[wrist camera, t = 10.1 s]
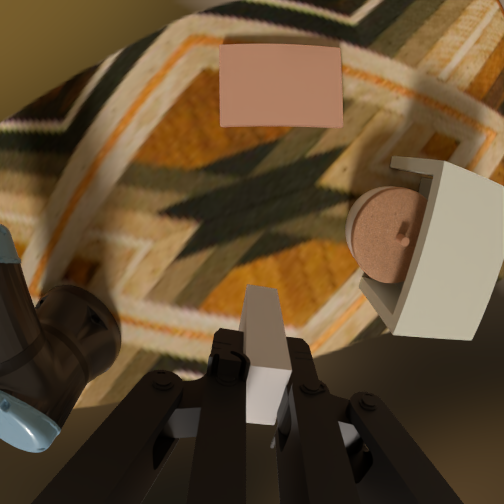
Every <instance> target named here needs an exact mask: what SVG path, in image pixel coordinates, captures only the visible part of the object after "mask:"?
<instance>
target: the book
mask: <svg viewBox="0 0 504 504" xmlns="http://www.w3.org/2000/svg"><path fill="white" fill-rule="evenodd" d="M219 59H220V126H221V127H241V126H297V127H324V128H342V127H343V98H342V72H341V53H340V48H336V47H326V46H313V45H296V44H226V45H219Z"/></svg>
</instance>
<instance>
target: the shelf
mask: <svg viewBox="0 0 504 504" xmlns="http://www.w3.org/2000/svg"><path fill="white" fill-rule="evenodd" d="M390 167H391V168H395V169H398V170H402V171H408V172H414V173H419V174H424V175H429V176H433V179H429V178H424V177H422V178H421V183H420V187H419V192H418V193H420V194H421V195H423V196H424V197H425V198H426V199H427V200H428V202H427V206H426V210H425V214H424V218H423V222H422V225H421V229H420V233H419V236H418V240H417V243H416V247H415V250H414V254H413V257H412V260H411V263H410V267H409V270H408V273H407V276H406V279H405V281H403V282H399V283H383V282H379V281H377V280H375V279H370V278H364V277H362V278H361V282H360V285H359V288H360V290H361V291H362V292H363V294H364V295H365V296H366V298H367V299H368V300H369V302H370V303H371V305H372V306H373V307H374V309H375V310H376V312H377V313H378V314H379V316H380V317H381V319H382V320H383V321H384V323H385V324H386V326H387V327H388V328H389V330H390V331H391V333H392V334H393V335H402V336H414V337H427V338H441V339H457V340H472V338H473V336H474V334H475V332H476V330H477V327H478V325H479V323H480V321H481V318H482V316H483V313H484V311H485V309H486V306H487V304H488V301H489V299H490V296H491V293H492V291H493V288H494V285H495V283H496V280H497V277H498V274H499V271H500V268H501V265H502V262H503V259H504V186H502V185H500V184H498V183H496V182H494V181H491V180H489V179H487V178H485V177H482V176H480V175H478V174H476V173H473V172H471V171H469V170H466V169H464V168H461V167H459V166H456V165H454V164H451V163H449V162H446V161H442V160H433V159H423V158H413V157H401V156H392V160H391V164H390Z"/></svg>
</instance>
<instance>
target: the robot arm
mask: <svg viewBox="0 0 504 504" xmlns="http://www.w3.org/2000/svg"><path fill="white" fill-rule="evenodd" d="M20 263H21V260H20V258H19V257H18V255H17V252H16V249H15V246H14V242H13V239H12V236H11V233H10V231H9V230H8V228H7V227H5V226H4V225H2V224H0V438H1V439H3V440H4V441H5V442H7V443H9V444H11V445H13V446H15V447H17V448H19V449H22V450H25V451H28V452H42V451H44V450H46V449H47V448H48V447H49V446H50V444H51V443H52V442H53V440H54V438H55V437H56V436H57V435H59V433H60V431H61V429H62V427H63V425H64V423H65V421H66V419H67V418H68V416H69V414H70V412H71V411H72V409H73V407H74V405H75V404H76V402H77V400H78V398H79V396H80V395H81V393H82V391H83V389H84V388H85V386H86V385H87V383H89V382H90V381H92V380H93V379H95V378H96V377H97V376H99V375H101V374H102V373H104V372H106V371H107V370H108V369H109V368H110V367H111V366H112V365H113V363H114V361H115V360H116V358H117V356H118V354H119V351H120V346H121V338H120V333H119V329H118V326H117V324H116V322H115V320H114V318H113V316H112V314H111V313H110V312H109V310H108V309H107V308H106V306H105V305H104V304H103V303H102V302H101V301H100V300H98V299H97V298H96V297H95V296H93V295H92V294H91V293H89V292H87V291H85V290H83V289H81V288H78V287H74V286H67V285H64V286H58V287H55V288H53V289H51V290H50V291H49V292H47V293H46V294H45V295H44V296H43V297H42V298H41V299H40V300H39V301H38V303H37V305H36V307H34V305H33V302H32V299H31V296H30V293H29V290H28V287H27V284H26V281H25V278H24V275H23V271H22V268H21V264H20ZM276 418H277V419H278V426H277V429H276V432H275V435H274V437H273V440H272V443H271V447H270V448H274V445H275V444H276V457H277V469H278V483H279V497H280V504H464V503H463V502H462V501H461V500H460V498H459V497H458V496H457V494H456V493H455V492H454V491H453V489H452V488H451V487H450V486H449V484H448V483H447V482H446V480H445V479H444V478H443V477H442V475H441V474H440V473H439V471H438V470H437V469H436V468H435V466H434V465H433V464H432V462H431V461H430V460H429V459H428V458H427V456H426V455H425V454H424V452H423V451H422V450H421V449H420V447H419V446H418V445H417V443H416V442H415V441H414V440H413V438H412V437H411V436H410V435H409V433H408V432H407V431H406V430H405V428H404V427H403V426H402V424H401V423H400V422H399V421H398V420H397V418H396V417H395V416H394V415H393V413H392V412H391V411H390V409H389V408H388V407H387V406H386V404H385V403H384V402H383V401H382V400H381V399H380V398H379V397H378V396H376V395H374V394H372V393H368V392H358V393H355V394H354V395H353V396H352V397H351V398H350V400H348V399H344V398H341V397H337V396H334V395H332V394H330V392H329V390H328V388H327V386H326V385H325V384H324V383H323V382H322V381H320V380H318V376H317V373H316V369H315V365H314V362H313V358H312V355H311V351H310V348H309V345H308V344H307V343H306V342H305V341H304V340H303V339H301V338H293V337H286V335H285V329H284V324H283V319H282V313H281V308H280V303H279V297H278V292H277V289H274V288H267V287H261V286H254V285H248V284H247V288H246V293H245V299H244V304H243V309H242V315H241V320H240V325H239V331H236V330H229V329H223V328H220V329H219V330H218V331H217V332H216V333H215V334H214V338H213V344H212V350H211V354H210V356H209V360H208V368H207V373H206V374H205V375H204V376H203V377H202V378H200V379H197V380H193V381H182V379H181V378H180V377H179V376H178V375H177V374H175V373H173V372H170V371H166V370H154V371H151V372H148V373H147V374H146V375H144V376H143V377H142V379H141V380H140V381H139V382H138V383H137V384H136V385H135V387H134V388H133V389H132V390H131V391H130V392H129V393H128V394H127V396H126V397H125V398H124V399H123V400H122V401H121V402H120V404H119V405H118V406H117V407H116V408H115V409H114V410H113V411H112V413H111V414H110V415H109V416H108V417H107V418H106V419H105V421H104V422H103V423H102V424H101V425H100V426H99V427H98V429H97V430H96V431H95V432H94V433H93V434H92V435H91V436H90V438H89V439H88V440H87V441H86V442H85V443H84V444H83V445H82V447H81V448H80V449H79V450H78V451H77V452H76V454H75V455H74V456H73V457H72V458H71V459H70V460H69V461H68V462H67V464H66V465H65V466H64V467H63V468H62V469H61V470H60V471H59V473H58V474H57V475H56V476H55V477H54V478H53V480H52V481H51V482H50V483H49V484H48V485H47V486H46V487H45V489H44V490H43V491H42V492H41V493H40V494H39V495H38V496H37V498H36V499H35V500H34V501H33V502H32V503H31V504H141V503H142V501H143V499H144V498H145V496H146V494H147V493H148V491H149V489H150V488H151V486H152V485H153V483H154V481H155V479H156V478H157V476H158V475H159V473H160V471H161V470H162V468H163V466H164V465H165V463H166V461H167V459H168V458H169V456H170V454H171V452H172V451H173V449H174V448H175V446H176V444H177V443H178V441H179V438H184V437H196V442H195V449H194V456H193V462H192V468H191V475H190V482H189V488H188V495H187V503H186V504H246V422H247V423H256V424H267V425H274V423H275V421H276ZM365 444H366V446H367V447H368V449H369V450H368V449H367V448H366V447H365Z"/></svg>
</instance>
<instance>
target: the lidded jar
mask: <svg viewBox="0 0 504 504" xmlns="http://www.w3.org/2000/svg"><path fill="white" fill-rule="evenodd" d="M427 202H428V200H427V199H426V198H425V197H424V196H423V195H421V194H420V193H418V192H416V191H414V190H411V189H408V188H403V187H395V186H383V187H377V188H375V189H372V190H369V191H367V192H366V193H364V194H363V195H361V196H360V197H359V198H358V199H357V200H356V201H355V203H354V204H353V206H352V207H351V209H350V211H349V213H348V216H347V219H346V226H345V233H346V240H347V243H348V247H349V249H350V251H351V253H352V255H353V257H354V258H355V260H356V261H357V263H358V265H359V266H360V267H361V269H362V270H363V271H364V272H365V273H366V274H367V275H368V276H370V277H371V278H373V279H375V280H377V281H379V282H383V283H399V282H403V281H405V279H406V276H407V273H408V270H409V267H410V263H411V260H412V257H413V254H414V250H415V247H416V243H417V240H418V236H419V233H420V229H421V225H422V222H423V218H424V214H425V210H426V206H427Z"/></svg>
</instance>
